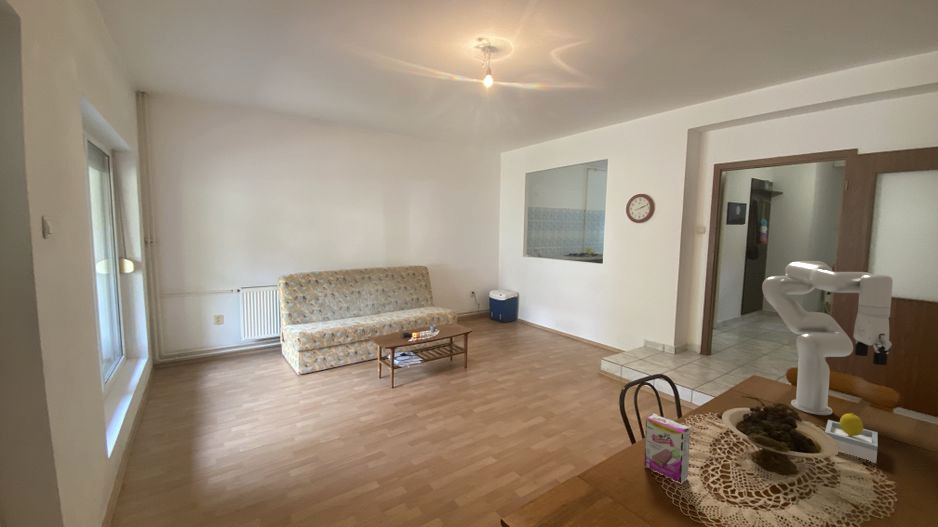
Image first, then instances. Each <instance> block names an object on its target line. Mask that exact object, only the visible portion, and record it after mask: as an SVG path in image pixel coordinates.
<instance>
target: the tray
mask: <svg viewBox="0 0 938 527" xmlns="http://www.w3.org/2000/svg"><path fill="white" fill-rule="evenodd" d="M825 426H826V427H825V431H824V434H825V433H826V434H827V435H829V436H831V437H832V438H833V439H834V440H835V441H836V442H837V444H838V445H839V447H840V449H841V450H843V451H845V452H846V453H849V454H851V455H854V456H857V457H860V458H863V459H867V460H869V461H868V462H870V461H871V463H874V464H877V456H878V447H879V445H878V439H879V438H878V431H874V430H869V429H865V428H863V431H862V433H861V434H860V435H857V436H852V437H851V436H849V435H848V434H846V433H845V432H844V431H843V430H842V429H841V427H840V421H834V420H832V419H831V420H830V419H827V423H826V425H825ZM863 459H862V460H863Z"/></svg>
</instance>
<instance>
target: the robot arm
mask: <svg viewBox="0 0 938 527" xmlns="http://www.w3.org/2000/svg"><path fill="white" fill-rule="evenodd" d="M784 271H785V275H773V276H769V277H767V278H765V279H764V281H763V282H762V286H761V288H762V294H763V296H764V299H765V300H766V301H767V302H768V304H770V306H771V307H772V308H773V309H774V310H775V311H776V312H777V313H778V315H779V316H780V318H781V320H782V321H783V322H784V323H785V325H786V327H787V328H788V330H790V332H792V333H794V334H796V335H798V336H797V338H796V343H795V344H796V350H797V358H798V362H797V363H798V365H797V377H796V378H797V381H796V397H795V398H796V399H792V400H791V401H790V402H791V403H790V405H791V406H792V407H793V408H795V409H796V410H799V411H802V412H803V413H804V412H805V413H807V414H813V415H818V416H830V415H832V414H833V409H832V408H831V407H830V406H828V402H829V401H828V400H829V387H830V372H831V371H830V366H829V364H828V362H827V361H826V360H825V358H827V357H830V358H831V357H833V358H834V357H836V358H839V357H840V358H841V357H843V358H845V357H847V356H850V355H851V354H852V353H853V351H854V355H855V356H858V357H859V356H860V357H868V352H869V346H873V349H874V351H873V358H872V364H873V365H879V366H887V361H888V355H889V353H890V352H889V351H890V350H891V347H892V345H893V343H892V342H891V341H890V321H889V318H890V317H891V306H892V294H893V278H892V277H891V276H889V275H885V274H875V273H872V272H871V273H870V272H867V271H865V272H864V271H833V269H832V268H831V266H829V265H828V264H827V263H825V262H823V261H820V260H799V261H798V260H796V261H793V262H792V261H791V262H790V263H789V264H787V265H786V267H785V268H784ZM815 289H817V290H820V291H821V290H822V291H824V292H825V291H826V292H828V293H829V292H830V293H839V294H840V293H841V294H843V293H845V294H847V293H848V294H852V293H853V294H858V308H857V314H856V318H855V321H854V322H855V323H854V329H853V339H854V342H855V348H854V345H853V341H852V339H851V338H850V337H849V336H848V334H847V332H845V331H844V330H843V328H842V327H841V326H840V324H839V323H838V322H837V320H836V319H834V317H832V316H831V315H829V314H828V313H825V312H819V311H807V310H805V309H804V308H803V307H802V306H801V304H800V303H799V302H798V301H797V300H795V299H794V298H792V297H790V296H789V295H793V296H794V295H797V296H798V295H806V294H809V293H812V291H813V290H815Z"/></svg>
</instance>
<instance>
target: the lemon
mask: <svg viewBox="0 0 938 527" xmlns="http://www.w3.org/2000/svg"><path fill="white" fill-rule="evenodd" d="M839 423H840V427H841V429H842V430H843V431H844V432H845V433H846V434H848V435H849V436H851V437H852V436H857V435H860V434H861V433H862V431H863V429H864V423H863V420H862V419H861V418H860V417H859V416H857V415H856V414H854V412H853V413H852V412H851V413H844V414H843V415H842V416H841V417H840V419H839Z"/></svg>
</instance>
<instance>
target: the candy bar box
mask: <svg viewBox="0 0 938 527" xmlns="http://www.w3.org/2000/svg"><path fill="white" fill-rule="evenodd" d="M644 436H645V438H644V439H645V442H644V443H645V444H644V464H643V466H646V467H648V468H650V469H652V470H654V471H657V472H659V473H661V474H663V475H665V476H667V477H669V478H671V479H673V480H675V481H678V482H680V483H681V482H682V481H683V480H685V479H686V478H687V477H688V478H689V465H690V464H689V463H690V462H689V461H690V442H691V441H690V439H691V427H689V426H688V425H685V424H681V423H679V422H677V421H674V420H672V419H668V418H667V417H663V416H661V415H658V414H656V413H652V414H650V415H649V416H647V417H646V418H645V435H644Z"/></svg>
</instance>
